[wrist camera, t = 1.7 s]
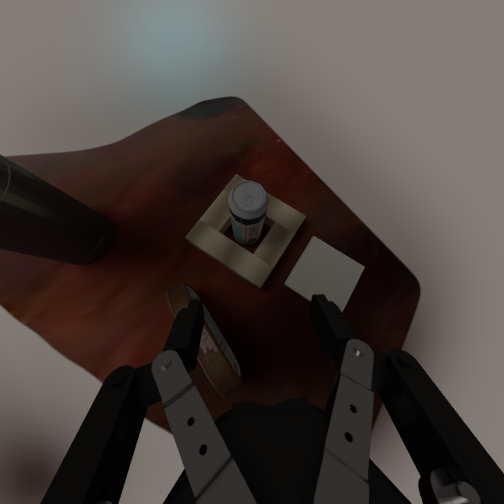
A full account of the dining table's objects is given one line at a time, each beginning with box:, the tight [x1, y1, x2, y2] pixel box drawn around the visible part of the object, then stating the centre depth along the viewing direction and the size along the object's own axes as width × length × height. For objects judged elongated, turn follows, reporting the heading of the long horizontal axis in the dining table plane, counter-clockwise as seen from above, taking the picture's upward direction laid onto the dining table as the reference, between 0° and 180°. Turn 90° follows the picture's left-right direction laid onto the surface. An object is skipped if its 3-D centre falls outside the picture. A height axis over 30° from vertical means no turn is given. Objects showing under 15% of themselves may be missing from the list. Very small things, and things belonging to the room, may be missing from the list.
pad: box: [284, 236, 365, 312], centre depth 30 cm, size 10×10×1 cm
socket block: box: [185, 174, 306, 289], centre depth 30 cm, size 14×14×3 cm
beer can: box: [228, 181, 269, 245], centre depth 26 cm, size 5×5×12 cm
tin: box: [166, 282, 242, 397], centre depth 24 cm, size 15×3×8 cm, turn 34°
